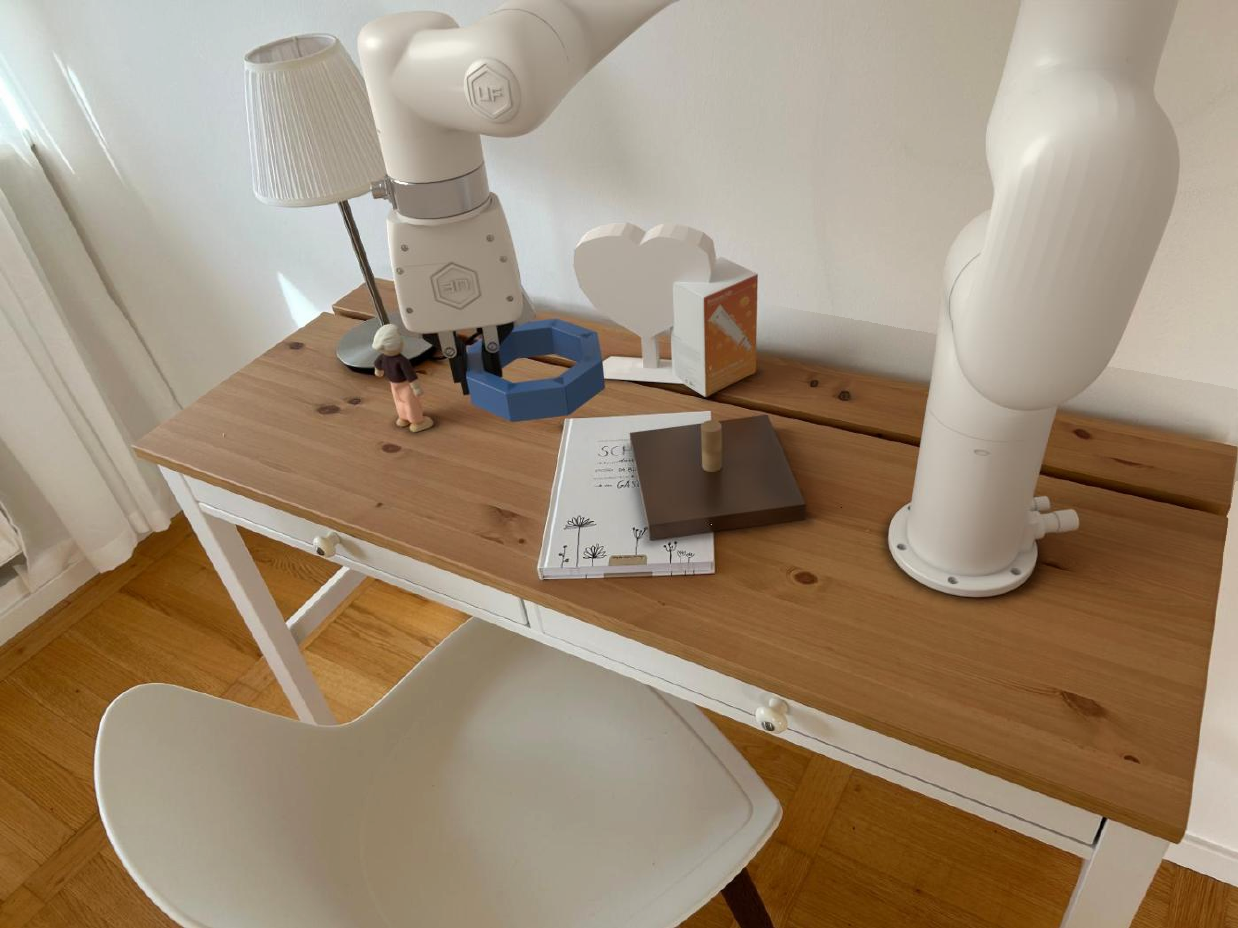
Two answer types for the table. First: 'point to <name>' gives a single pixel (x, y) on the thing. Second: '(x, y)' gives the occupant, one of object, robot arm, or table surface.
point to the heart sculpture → (641, 285)
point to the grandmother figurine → (400, 378)
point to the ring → (545, 393)
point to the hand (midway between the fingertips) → (480, 384)
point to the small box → (715, 328)
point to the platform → (714, 477)
